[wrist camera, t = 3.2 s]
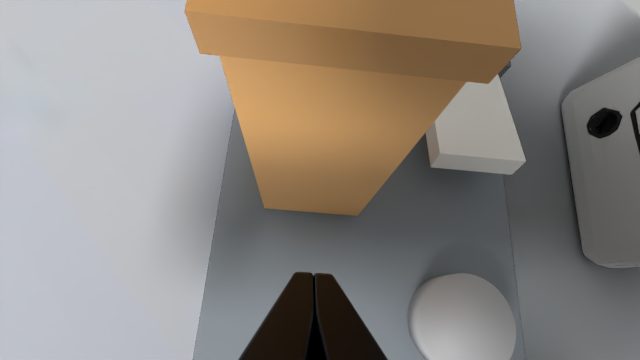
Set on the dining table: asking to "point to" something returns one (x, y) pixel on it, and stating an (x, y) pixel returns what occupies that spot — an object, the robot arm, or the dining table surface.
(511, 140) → the block
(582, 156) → the electrical switch
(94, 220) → the dining table surface
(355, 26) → the slider knob
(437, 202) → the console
